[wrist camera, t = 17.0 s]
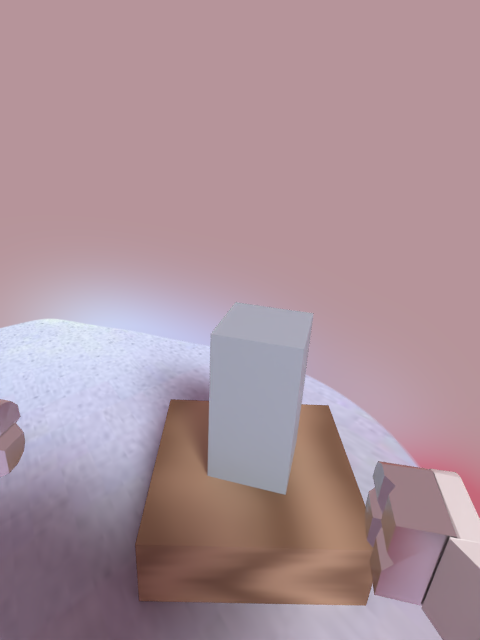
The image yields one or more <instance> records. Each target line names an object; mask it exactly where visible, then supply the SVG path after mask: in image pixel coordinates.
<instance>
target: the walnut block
mask: <svg viewBox="0 0 480 640" xmlns="http://www.w3.org/2000/svg"><path fill="white" fill-rule="evenodd" d="M208 432H209V401H198V400H172V399H171V401H170V405H169V409H168V413H167V417H166V421H165V425H164V429H163V433H162V437H161V441H160V446H159V450H158V454H157V458H156V462H155V466H154V470H153V474H152V478H151V482H150V486H149V490H148V495H147V499H146V503H145V507H144V511H143V515H142V519H141V523H140V527H139V531H138V535H137V539H136V544H135V548H136V563H137V578H138V593H139V601H161V602H213V603H265V604H316V605H366V604H367V600H368V597H369V593H370V590H371V586H372V583H373V581H372V574H371V567H370V557H371V554H372V550H373V547H372V546H371V545H370V544H369V542H368V541H367V538H366V530H365V510H366V507H365V504H364V501H363V498H362V496H361V493H360V490H359V488H358V485H357V482H356V479H355V477H354V474H353V471H352V469H351V466H350V463H349V460H348V458H347V455H346V452H345V449H344V447H343V444H342V441H341V439H340V436H339V433H338V430H337V428H336V425H335V422H334V419H333V417H332V414H331V411H330V409H329V406H328V405H303V404H301V411H300V418H299V426H298V433H297V441H296V446H295V451H294V456H293V461H292V466H291V471H290V475H289V480H288V485H287V490H286V495H284V494H280V493H276V492H272V491H268V490H263V489H259V488H255V487H251V486H247V485H243V484H239V483H235V482H231V481H227V480H222V479H218V478H214V477H210V476H208Z"/></svg>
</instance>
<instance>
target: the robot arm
mask: <svg viewBox="0 0 480 640" xmlns="http://www.w3.org/2000/svg"><path fill="white" fill-rule="evenodd" d="M19 418H20V413H19V409H18V405H17V404H15V403H13V402H11V401H7V400H1V399H0V477H2V476H4V475H6V474H8V473H10V472H11V471H12V470H13V468H14V467H15V466H16V465H17V464H18V462H19V460H20V458H21V456H22V454H23V452H24V445H25V438H24V432H23V431H22V430H21V429H20V427H19V426H18V425H17V424H16V422H17V421H18V419H19ZM373 479H374V484H375V488H374V489H372V490H371V491H369V493H368V498H367V502H366V510H365V530H366V538H367V541H368V542H369V544H370V545H371V546H372V547H373V550H372V554H371V557H370V567H371V574H372V581H373V588H374V595H378V596H382V597H386V598H391V599H395V600H399V601H403V602H408V603H412V604H416V605H421V606H422V610H423V611H424V613H425V614H426V616H427V617H428V619H429V620H430V622H431V623H432V625H433V626H434V627H435V629H436V630H437V632H438V633H439V635H440V636H441V638H442V639H443V640H480V519H479V517H478V514H477V513H476V510H475V508H474V506H473V504H472V502H471V499H470V497H469V495H468V493H467V491H466V488H465V486H464V484H463V482H462V480H461V478H460V476H459V475H458V474H457V473H456V472H448V471H441V470H435V469H424V468H418V467H412V466H406V465H399V464H393V463H386V462H380V461H378V463H377V465H376V467H375V470H374V474H373Z"/></svg>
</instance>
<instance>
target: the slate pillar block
mask: <svg viewBox="0 0 480 640" xmlns="http://www.w3.org/2000/svg"><path fill="white" fill-rule="evenodd" d="M312 321H313V313H307V312H300V311H292V310H285V309H279V308H272V307H265V306H258V305H251V304H244V303H237V302H236V303H235V304H234V305H233V306H232V308H231V309H230V310H229V311H228V313H227V314H226V315H225V316H224V318H223V319H222V320H221V322H220V323H219V324H218V326H217V327H216V328H215V329H214V331H213V332H212V333H211V342H210V387H209V432H208V476H210V477H214V478H218V479H222V480H227V481H231V482H235V483H239V484H243V485H247V486H251V487H255V488H259V489H263V490H268V491H272V492H276V493H280V494H284V495H286V490H287V485H288V480H289V475H290V471H291V466H292V461H293V456H294V451H295V446H296V441H297V433H298V426H299V418H300V411H301V403H302V396H303V388H304V381H305V373H306V366H307V358H308V351H309V343H310V335H311V328H312Z"/></svg>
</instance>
